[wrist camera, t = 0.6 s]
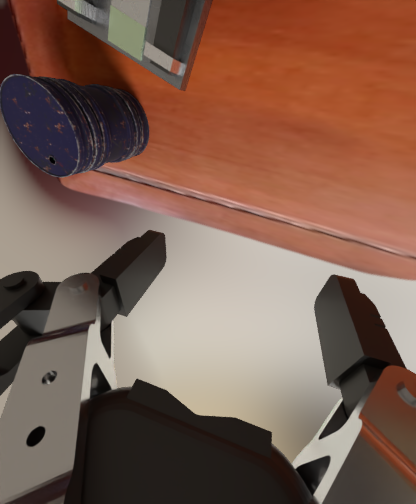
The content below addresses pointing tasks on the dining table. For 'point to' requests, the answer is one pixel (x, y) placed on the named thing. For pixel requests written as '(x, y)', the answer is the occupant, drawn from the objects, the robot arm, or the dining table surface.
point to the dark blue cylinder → (72, 123)
